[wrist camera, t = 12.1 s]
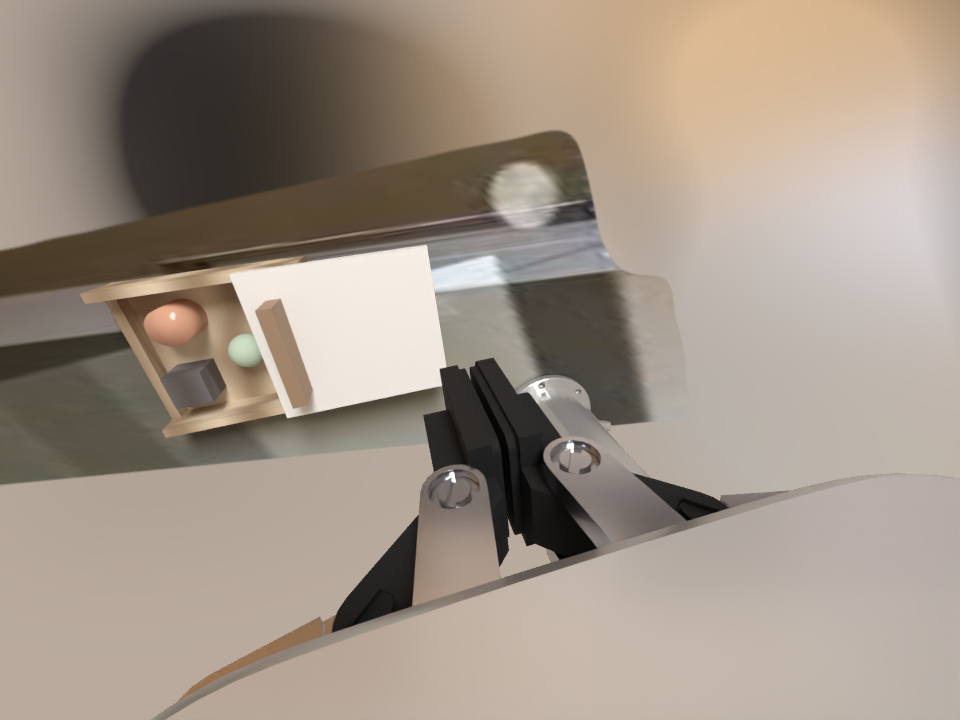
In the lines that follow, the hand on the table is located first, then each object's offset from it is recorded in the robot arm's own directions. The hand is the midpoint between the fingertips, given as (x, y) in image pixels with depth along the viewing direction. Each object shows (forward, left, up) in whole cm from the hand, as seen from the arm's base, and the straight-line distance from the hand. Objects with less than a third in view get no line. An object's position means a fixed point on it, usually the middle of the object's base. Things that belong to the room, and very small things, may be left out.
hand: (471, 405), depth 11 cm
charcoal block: (+17, +16, -28) cm, 37 cm away
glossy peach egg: (+19, +10, -28) cm, 36 cm away
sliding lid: (+4, +8, -25) cm, 26 cm away
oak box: (+14, +12, -29) cm, 34 cm away
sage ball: (+13, +12, -28) cm, 34 cm away
